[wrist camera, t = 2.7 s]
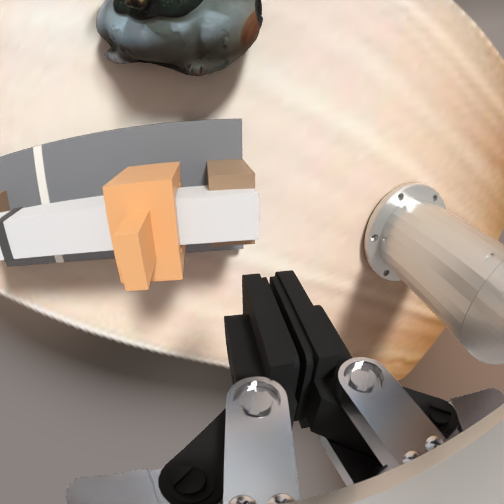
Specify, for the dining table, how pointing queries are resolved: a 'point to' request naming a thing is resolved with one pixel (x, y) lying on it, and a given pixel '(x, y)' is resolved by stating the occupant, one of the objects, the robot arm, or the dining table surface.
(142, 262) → the orange stepped block
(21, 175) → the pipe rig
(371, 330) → the dining table surface
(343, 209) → the dining table surface
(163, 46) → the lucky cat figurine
